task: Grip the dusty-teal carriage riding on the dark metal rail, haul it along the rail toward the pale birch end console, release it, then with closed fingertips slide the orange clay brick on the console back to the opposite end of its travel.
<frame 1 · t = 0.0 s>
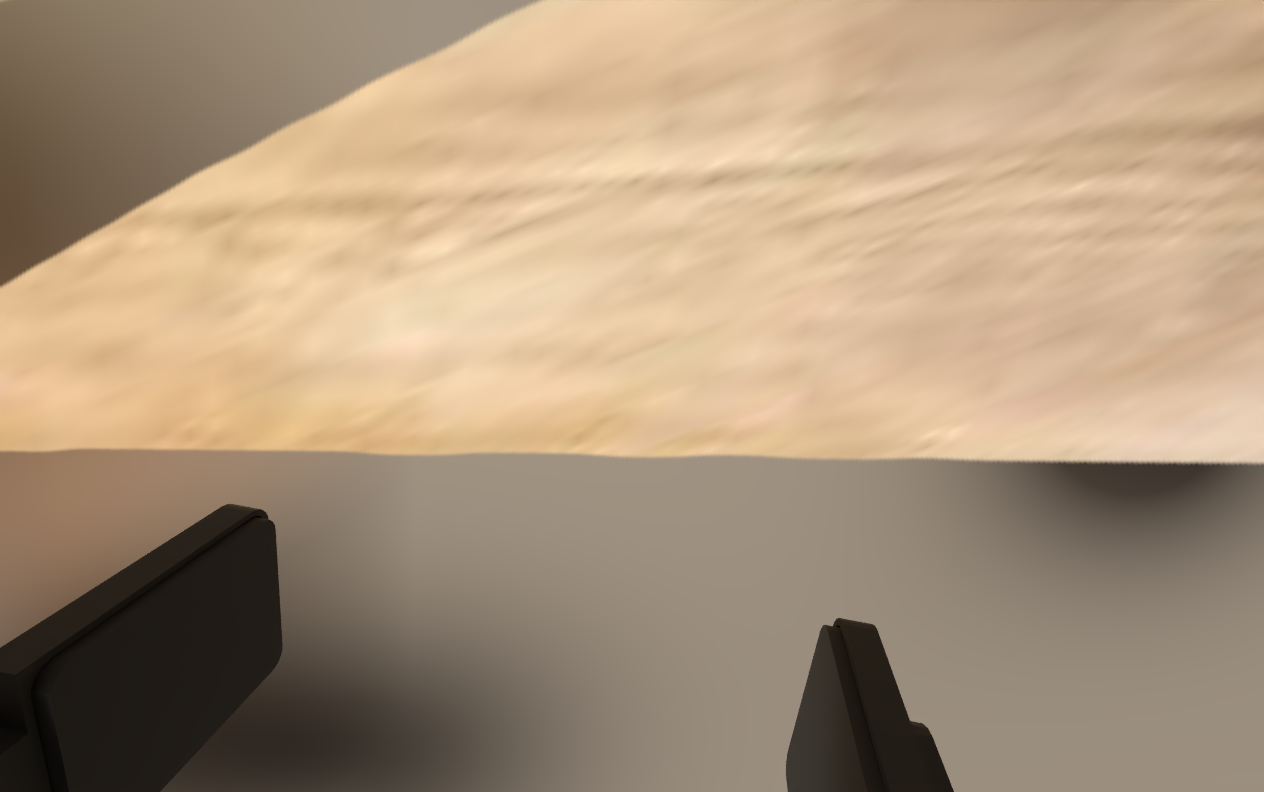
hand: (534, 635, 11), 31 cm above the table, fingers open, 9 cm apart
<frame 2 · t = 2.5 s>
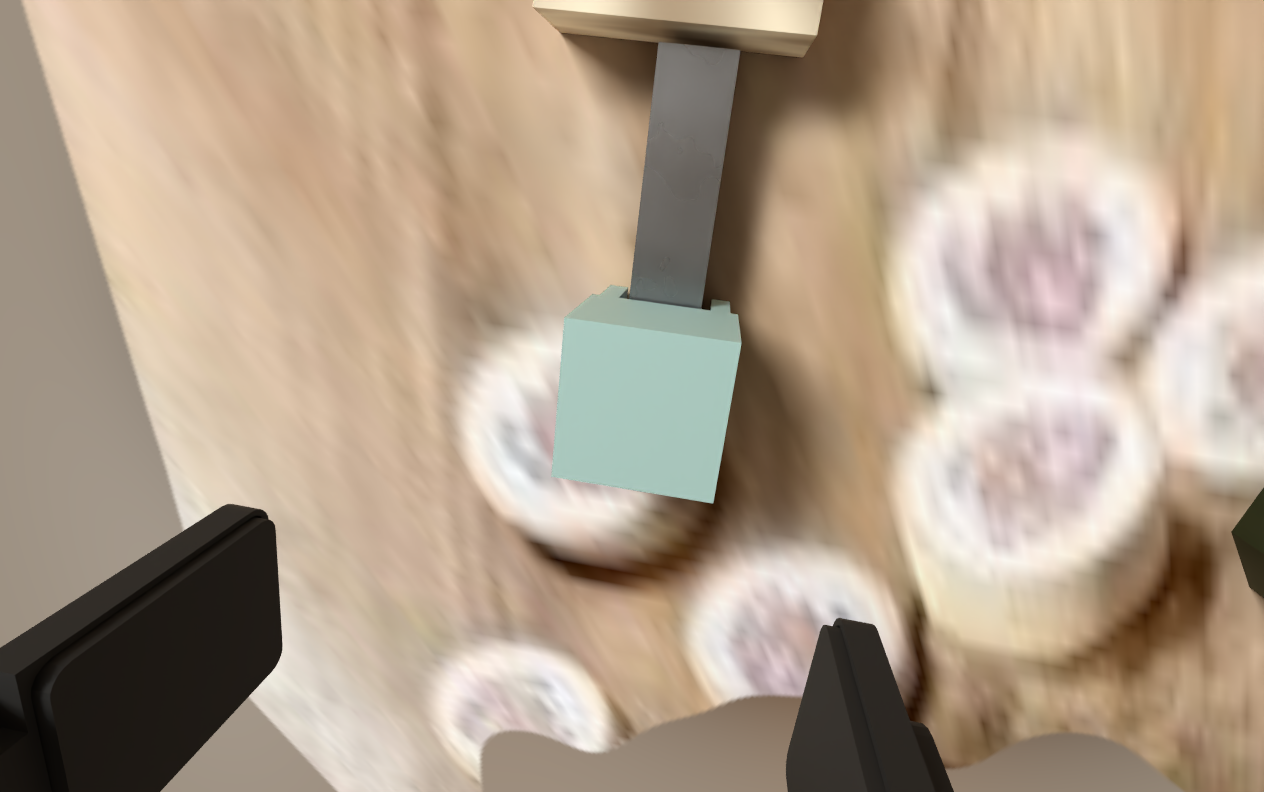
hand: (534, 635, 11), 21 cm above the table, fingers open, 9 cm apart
rail: (675, 258, 29), on the table
carriage: (652, 381, 26), point 4 cm above the table, slide at 4.5 cm
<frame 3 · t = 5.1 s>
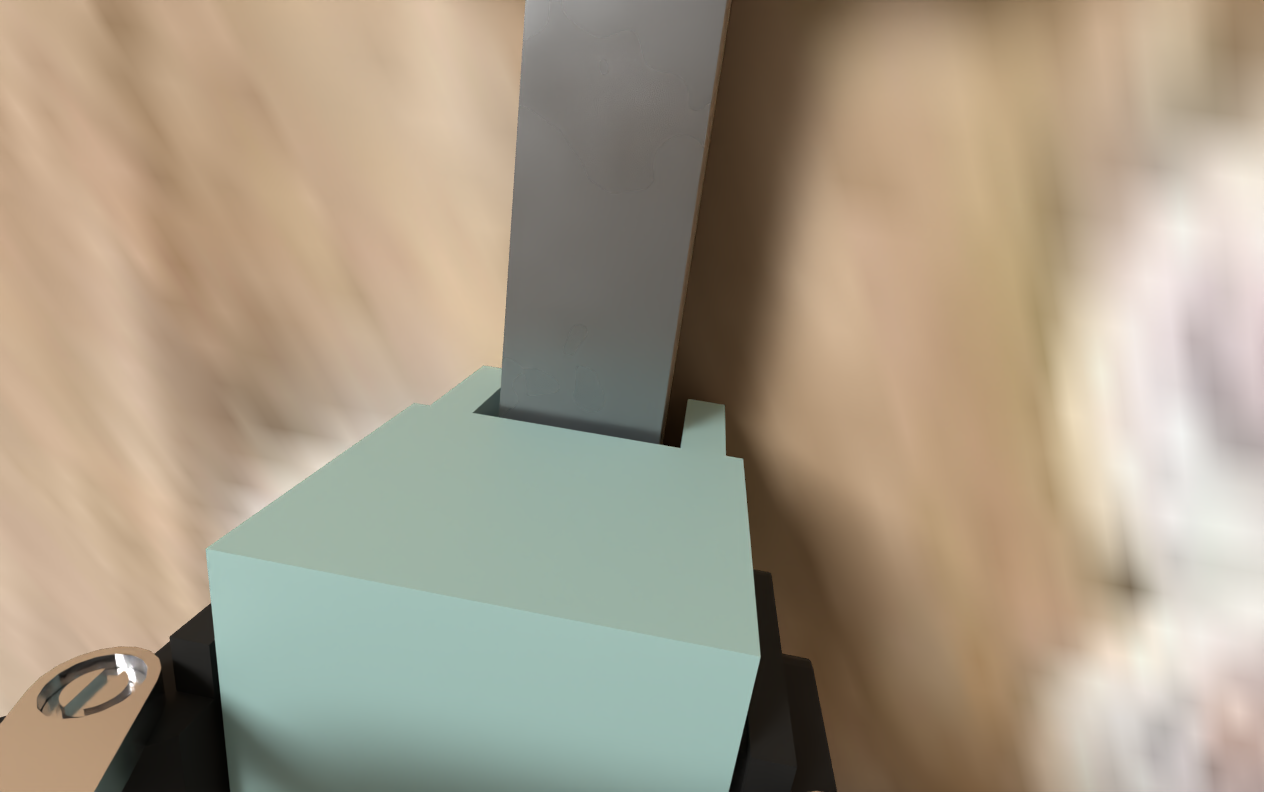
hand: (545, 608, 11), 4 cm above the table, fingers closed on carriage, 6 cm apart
rail: (613, 313, 14), on the table
carriage: (545, 608, 11), point 4 cm above the table, slide at 4.5 cm, touching gripper
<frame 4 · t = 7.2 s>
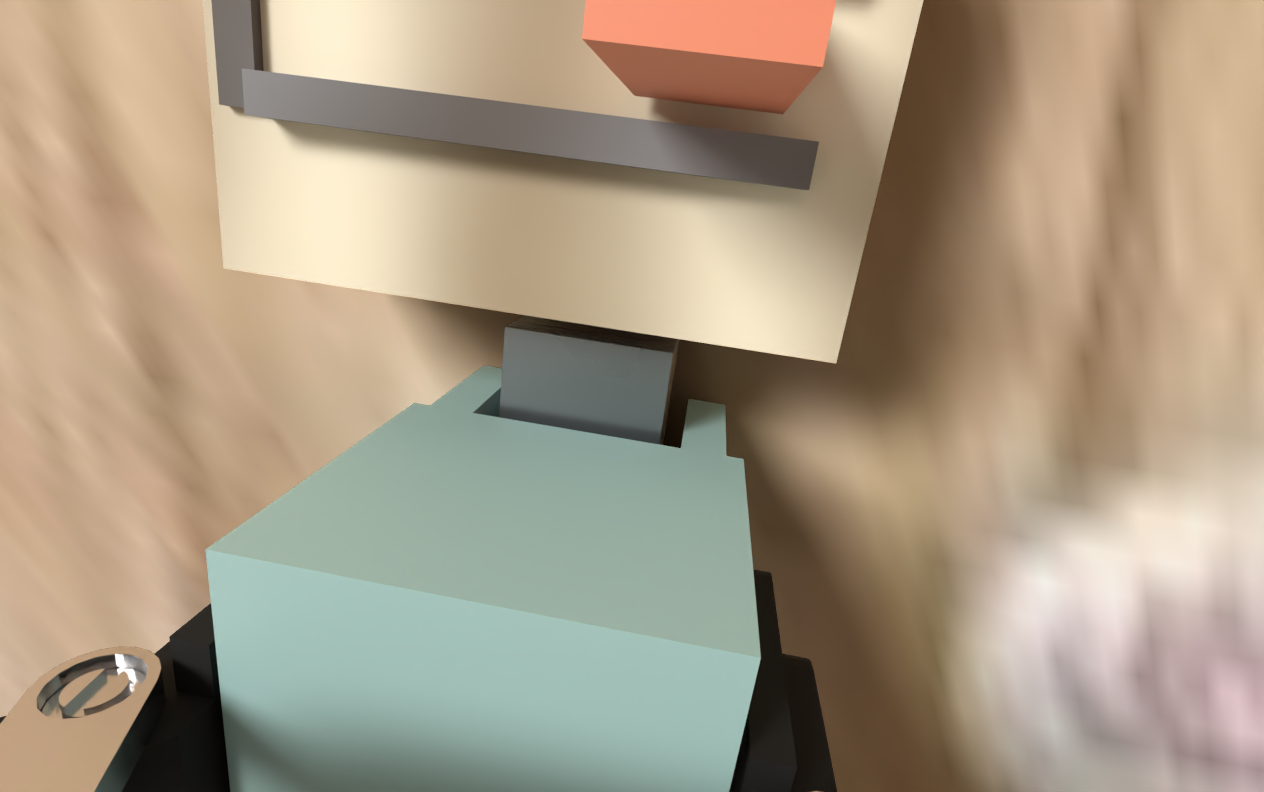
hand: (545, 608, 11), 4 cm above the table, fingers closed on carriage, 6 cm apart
orange clay brick: (716, 11, 7), point 6 cm above the table, slide at -2.5 cm
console: (591, 77, 13), on the table
rail: (578, 612, 17), on the table
carriage: (545, 608, 11), point 4 cm above the table, slide at -3.4 cm, touching gripper
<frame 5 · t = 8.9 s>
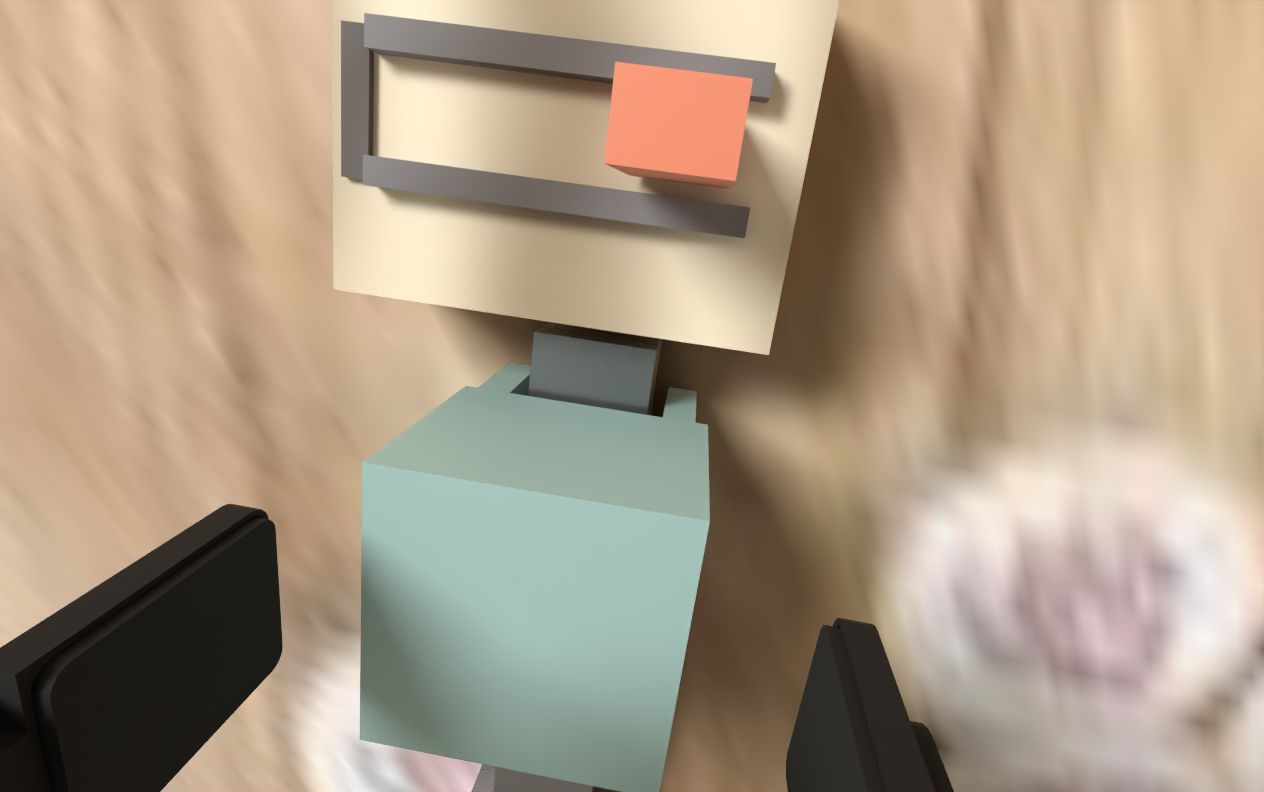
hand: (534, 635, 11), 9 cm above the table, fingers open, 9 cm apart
orange clay brick: (680, 135, 11), point 6 cm above the table, slide at -2.5 cm
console: (595, 148, 17), on the table
rail: (581, 564, 21), on the table
carriage: (563, 536, 15), point 4 cm above the table, slide at -3.5 cm
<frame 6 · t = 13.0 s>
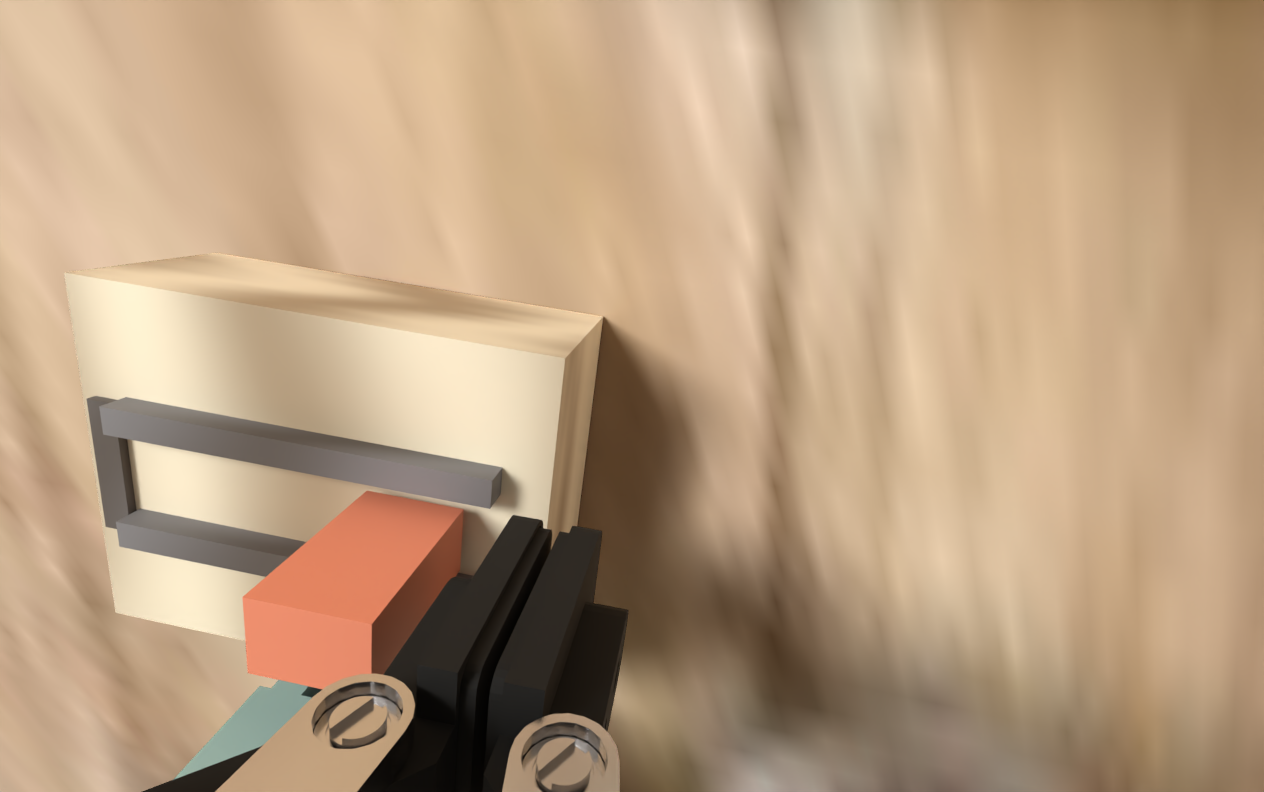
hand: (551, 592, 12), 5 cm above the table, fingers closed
orange clay brick: (368, 581, 11), point 6 cm above the table, slide at -2.4 cm, touching gripper
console: (402, 432, 17), on the table
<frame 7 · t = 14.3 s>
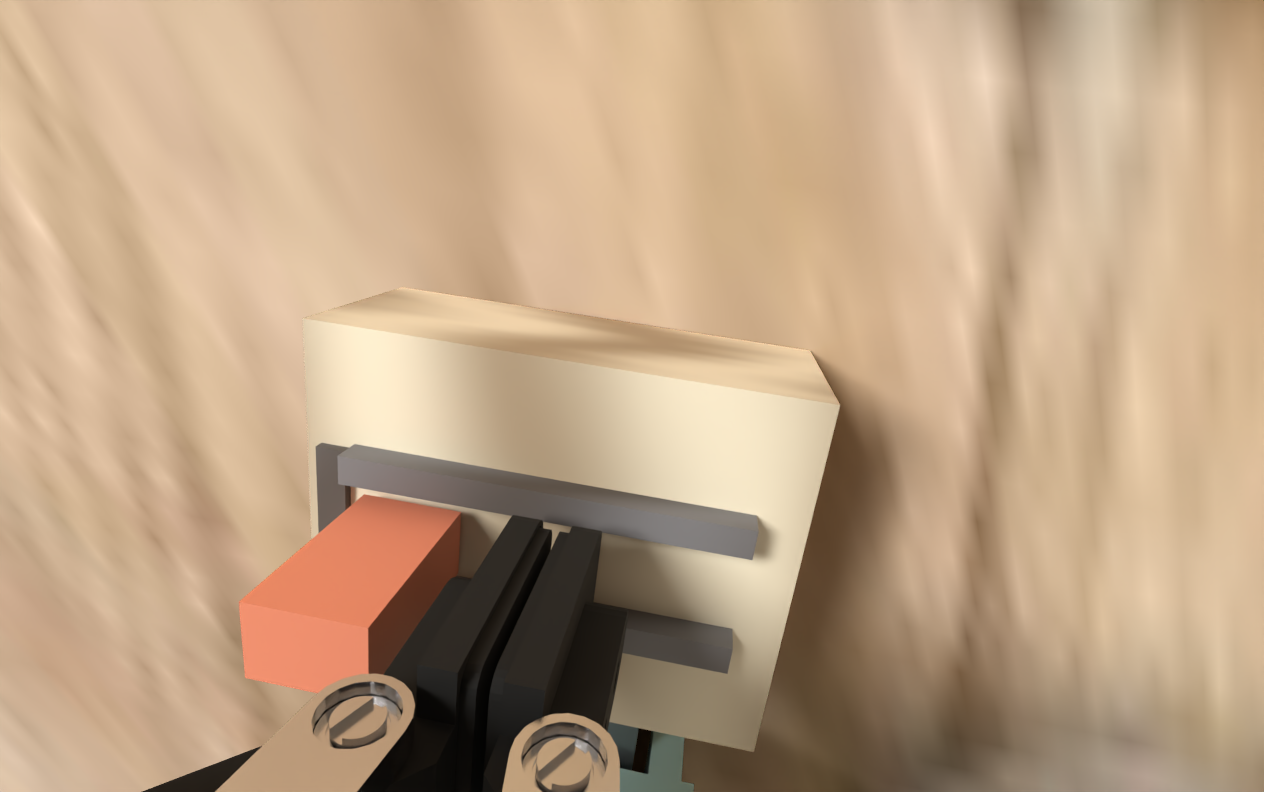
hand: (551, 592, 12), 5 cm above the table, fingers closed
orange clay brick: (366, 584, 11), point 6 cm above the table, slide at 2.6 cm, touching gripper
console: (583, 468, 17), on the table
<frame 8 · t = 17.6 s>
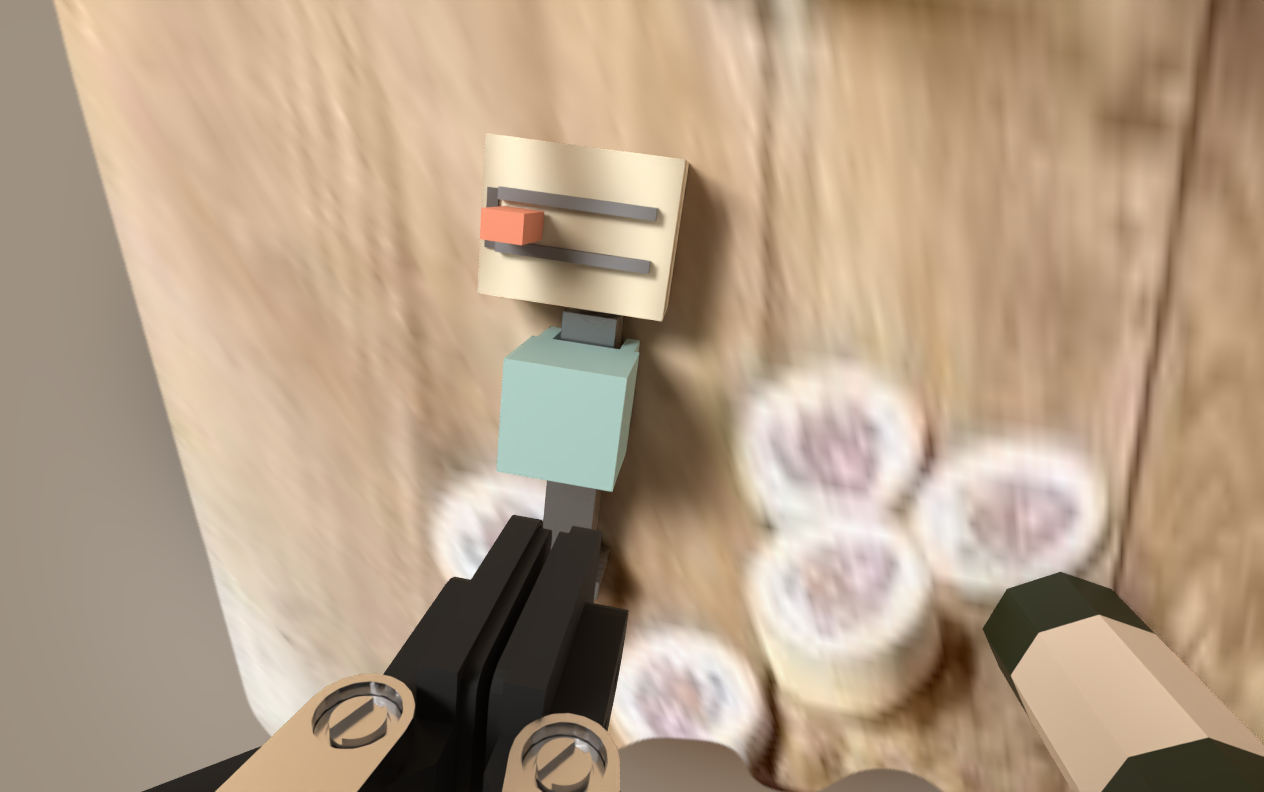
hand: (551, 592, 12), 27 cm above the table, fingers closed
orange clay brick: (513, 224, 31), point 6 cm above the table, slide at 2.6 cm
wine bottle: (1051, 627, 40), on the table
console: (591, 225, 36), on the table
rail: (585, 431, 40), on the table
carriage: (576, 401, 35), point 4 cm above the table, slide at -3.5 cm
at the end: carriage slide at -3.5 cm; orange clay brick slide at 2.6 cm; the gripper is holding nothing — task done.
